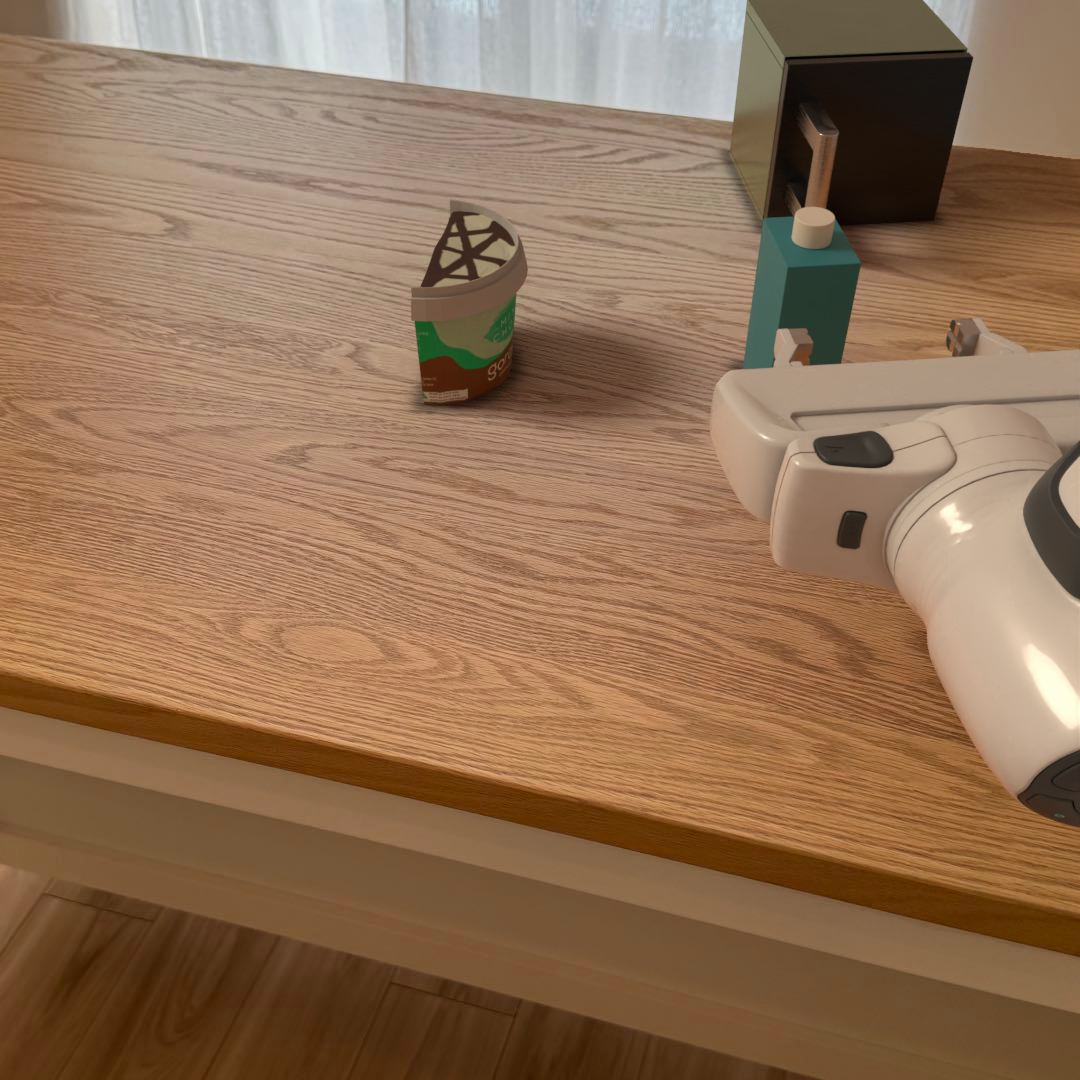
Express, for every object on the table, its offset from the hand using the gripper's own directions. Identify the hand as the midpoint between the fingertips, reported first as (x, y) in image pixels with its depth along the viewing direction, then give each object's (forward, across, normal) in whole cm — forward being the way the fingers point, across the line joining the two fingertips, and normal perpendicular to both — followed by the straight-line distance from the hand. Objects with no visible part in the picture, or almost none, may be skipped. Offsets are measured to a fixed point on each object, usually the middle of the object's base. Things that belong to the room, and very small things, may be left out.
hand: (875, 334), depth 66 cm
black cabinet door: (+32, -11, +13) cm, 36 cm away
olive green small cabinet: (+41, -11, +13) cm, 45 cm away
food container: (+17, +20, +14) cm, 30 cm away
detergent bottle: (+12, 0, +13) cm, 18 cm away
